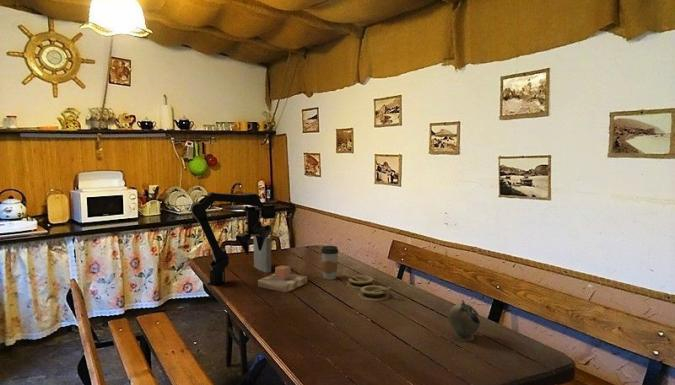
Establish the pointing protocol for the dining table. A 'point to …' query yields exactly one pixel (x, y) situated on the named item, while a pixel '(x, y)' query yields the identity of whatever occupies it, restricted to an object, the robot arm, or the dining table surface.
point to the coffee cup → (329, 262)
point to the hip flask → (263, 255)
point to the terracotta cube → (282, 272)
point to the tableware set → (367, 288)
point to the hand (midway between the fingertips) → (253, 252)
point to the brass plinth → (282, 282)
